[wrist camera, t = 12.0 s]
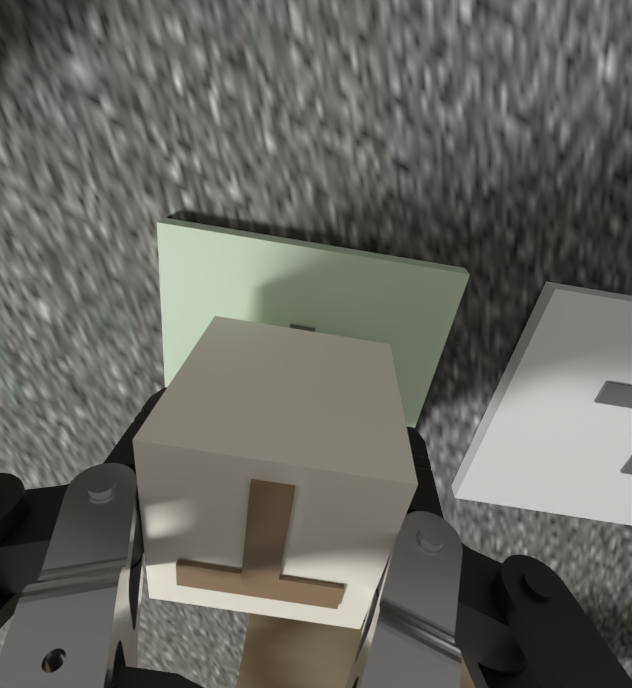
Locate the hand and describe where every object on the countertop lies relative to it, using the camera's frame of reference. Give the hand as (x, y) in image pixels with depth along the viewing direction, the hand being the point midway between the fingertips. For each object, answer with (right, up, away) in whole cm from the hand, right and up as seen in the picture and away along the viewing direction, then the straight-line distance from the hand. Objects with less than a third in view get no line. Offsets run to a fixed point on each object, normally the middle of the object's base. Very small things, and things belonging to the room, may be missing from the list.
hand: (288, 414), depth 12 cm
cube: (0, 0, +1) cm, 1 cm away
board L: (+12, -1, +2) cm, 12 cm away
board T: (0, +1, +2) cm, 2 cm away
